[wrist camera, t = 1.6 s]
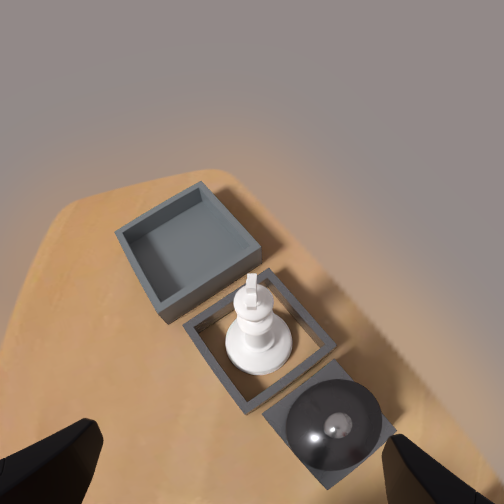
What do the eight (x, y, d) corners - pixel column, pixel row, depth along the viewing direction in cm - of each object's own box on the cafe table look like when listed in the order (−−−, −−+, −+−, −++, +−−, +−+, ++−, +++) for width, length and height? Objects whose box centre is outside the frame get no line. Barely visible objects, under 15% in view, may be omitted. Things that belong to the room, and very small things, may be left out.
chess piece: (291, 311, 23) (303, 237, 15) (293, 374, 21) (309, 336, 12) (227, 312, 24) (201, 238, 15) (224, 374, 21) (191, 336, 12)
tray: (262, 263, 26) (261, 246, 24) (167, 324, 23) (157, 313, 21) (205, 198, 30) (201, 180, 28) (124, 247, 27) (114, 231, 25)
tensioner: (395, 422, 18) (418, 419, 14) (311, 492, 16) (320, 505, 12) (269, 277, 25) (268, 250, 22) (187, 331, 23) (172, 313, 19)
